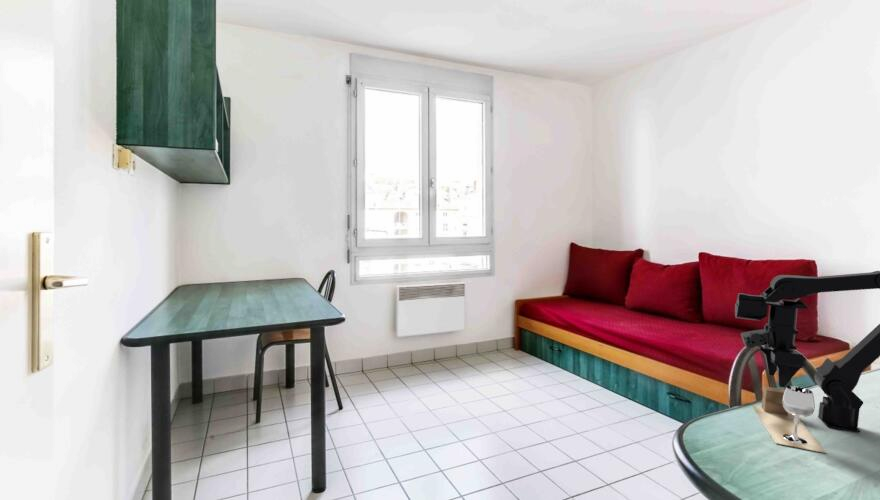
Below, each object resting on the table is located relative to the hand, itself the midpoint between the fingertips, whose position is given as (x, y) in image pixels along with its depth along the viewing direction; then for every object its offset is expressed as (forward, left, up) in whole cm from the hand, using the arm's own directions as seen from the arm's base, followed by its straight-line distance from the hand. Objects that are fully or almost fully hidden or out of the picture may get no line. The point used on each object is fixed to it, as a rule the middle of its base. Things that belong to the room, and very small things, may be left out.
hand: (776, 380), depth 115 cm
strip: (0, +9, -9) cm, 12 cm away
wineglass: (0, +16, -9) cm, 18 cm away
